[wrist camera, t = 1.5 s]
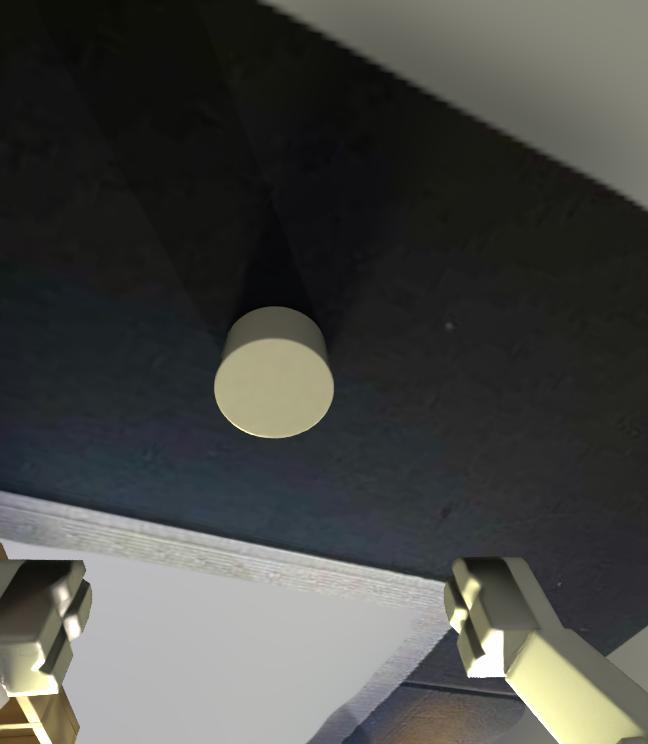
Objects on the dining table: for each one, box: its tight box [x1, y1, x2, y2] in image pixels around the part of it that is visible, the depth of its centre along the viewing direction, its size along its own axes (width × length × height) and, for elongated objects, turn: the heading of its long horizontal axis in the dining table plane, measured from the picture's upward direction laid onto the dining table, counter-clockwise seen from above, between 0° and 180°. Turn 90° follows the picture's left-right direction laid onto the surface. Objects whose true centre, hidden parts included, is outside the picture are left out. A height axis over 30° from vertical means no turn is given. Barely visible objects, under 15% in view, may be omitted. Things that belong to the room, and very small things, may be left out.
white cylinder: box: [214, 307, 334, 438], centre depth 17 cm, size 4×4×3 cm
